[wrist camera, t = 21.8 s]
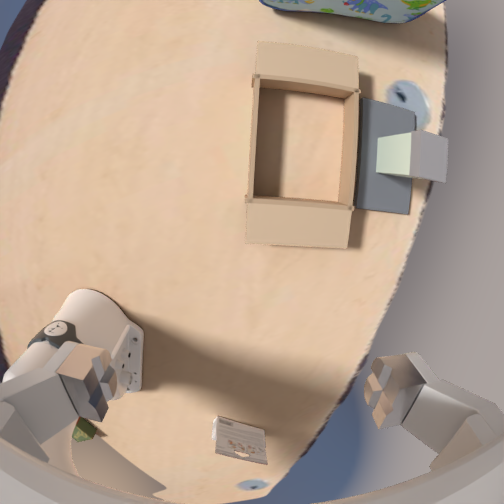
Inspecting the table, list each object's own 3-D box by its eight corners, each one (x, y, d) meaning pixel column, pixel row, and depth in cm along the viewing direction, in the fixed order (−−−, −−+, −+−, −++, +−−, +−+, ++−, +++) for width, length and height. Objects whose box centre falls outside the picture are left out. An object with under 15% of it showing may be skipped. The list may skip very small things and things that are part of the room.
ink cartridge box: (259, 434, 51) (261, 469, 42) (212, 420, 49) (209, 457, 40) (265, 429, 51) (268, 465, 41) (217, 414, 49) (214, 452, 39)
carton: (52, 386, 48) (44, 397, 44) (98, 428, 52) (93, 440, 48) (40, 393, 49) (33, 403, 45) (83, 433, 53) (78, 443, 49)
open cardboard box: (339, 241, 39) (348, 248, 35) (242, 235, 38) (242, 243, 35) (349, 66, 32) (360, 57, 28) (253, 52, 31) (254, 40, 27)
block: (399, 177, 35) (445, 183, 25) (375, 172, 35) (418, 176, 25) (401, 142, 34) (448, 138, 23) (377, 137, 34) (420, 129, 23)
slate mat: (404, 213, 38) (408, 214, 37) (353, 207, 38) (356, 208, 37) (411, 112, 33) (414, 111, 33) (360, 98, 33) (362, 97, 32)
